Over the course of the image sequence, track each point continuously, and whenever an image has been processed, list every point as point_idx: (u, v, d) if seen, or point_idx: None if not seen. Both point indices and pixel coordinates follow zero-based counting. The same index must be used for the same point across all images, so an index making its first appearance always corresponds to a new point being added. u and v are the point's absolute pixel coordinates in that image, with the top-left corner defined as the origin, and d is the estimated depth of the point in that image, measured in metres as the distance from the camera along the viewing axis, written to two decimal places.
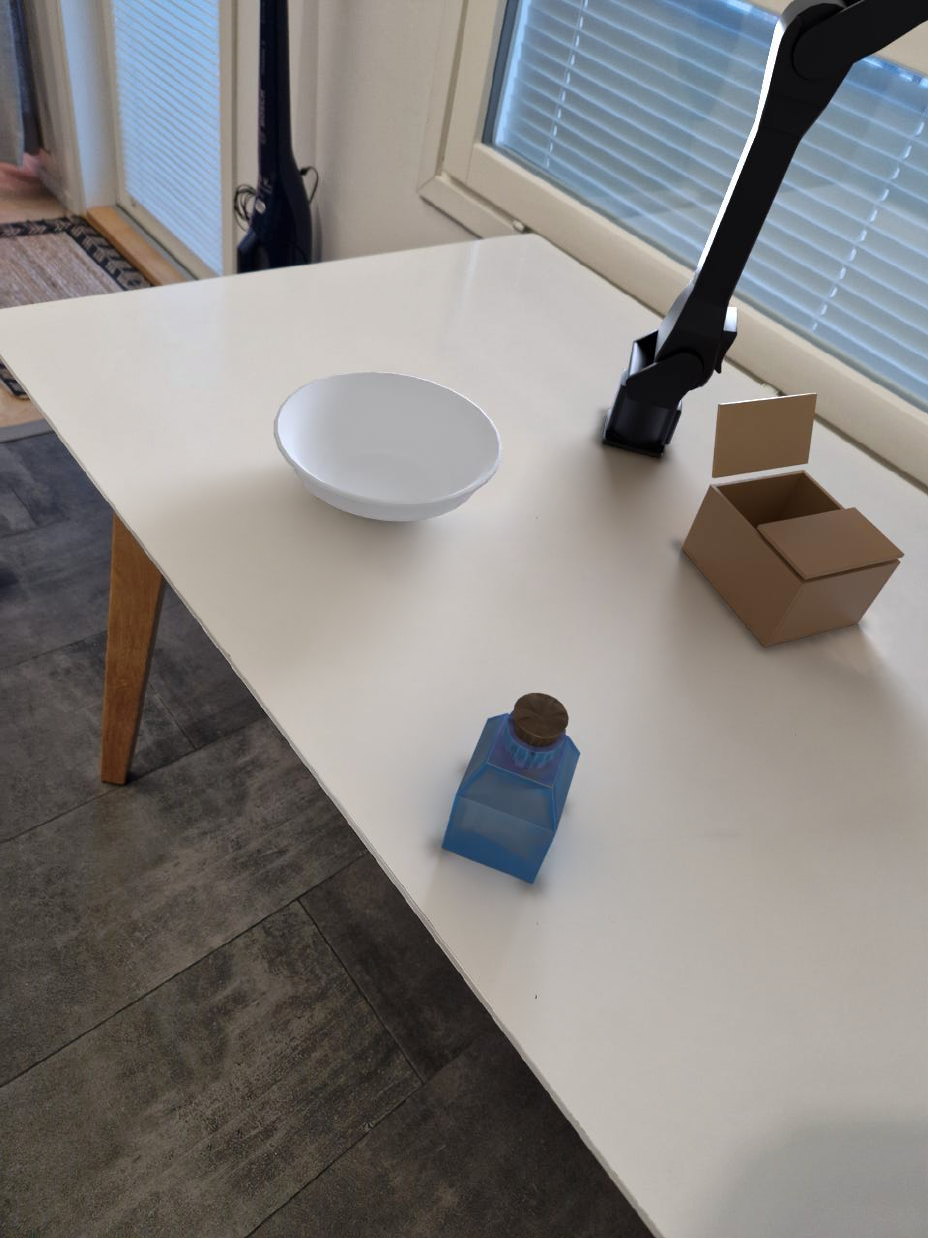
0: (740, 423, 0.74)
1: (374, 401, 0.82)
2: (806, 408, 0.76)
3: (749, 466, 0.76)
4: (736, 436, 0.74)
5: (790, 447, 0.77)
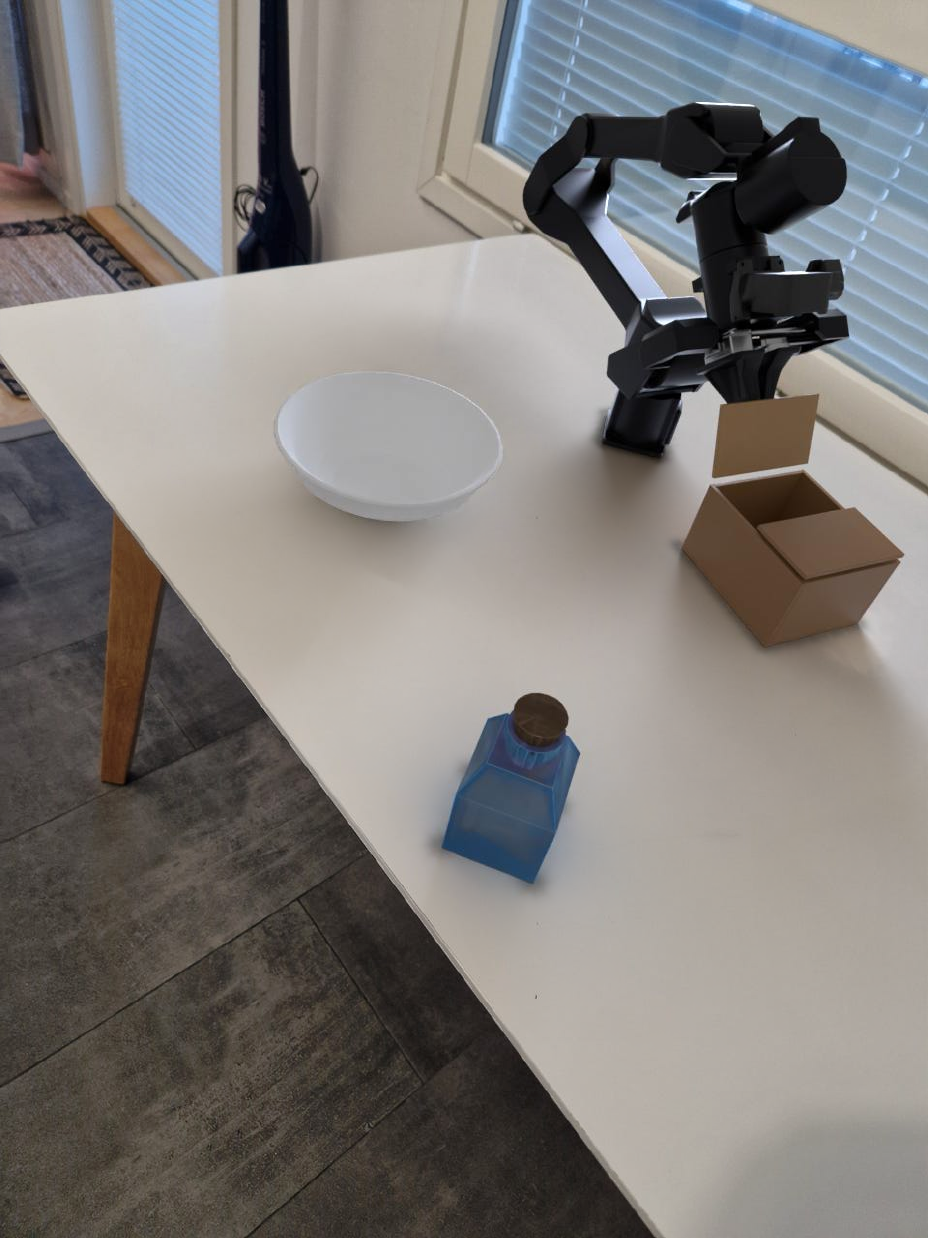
0: (742, 423, 0.74)
1: (374, 401, 0.82)
2: (808, 408, 0.76)
3: (749, 466, 0.76)
4: (737, 436, 0.74)
5: (791, 447, 0.77)
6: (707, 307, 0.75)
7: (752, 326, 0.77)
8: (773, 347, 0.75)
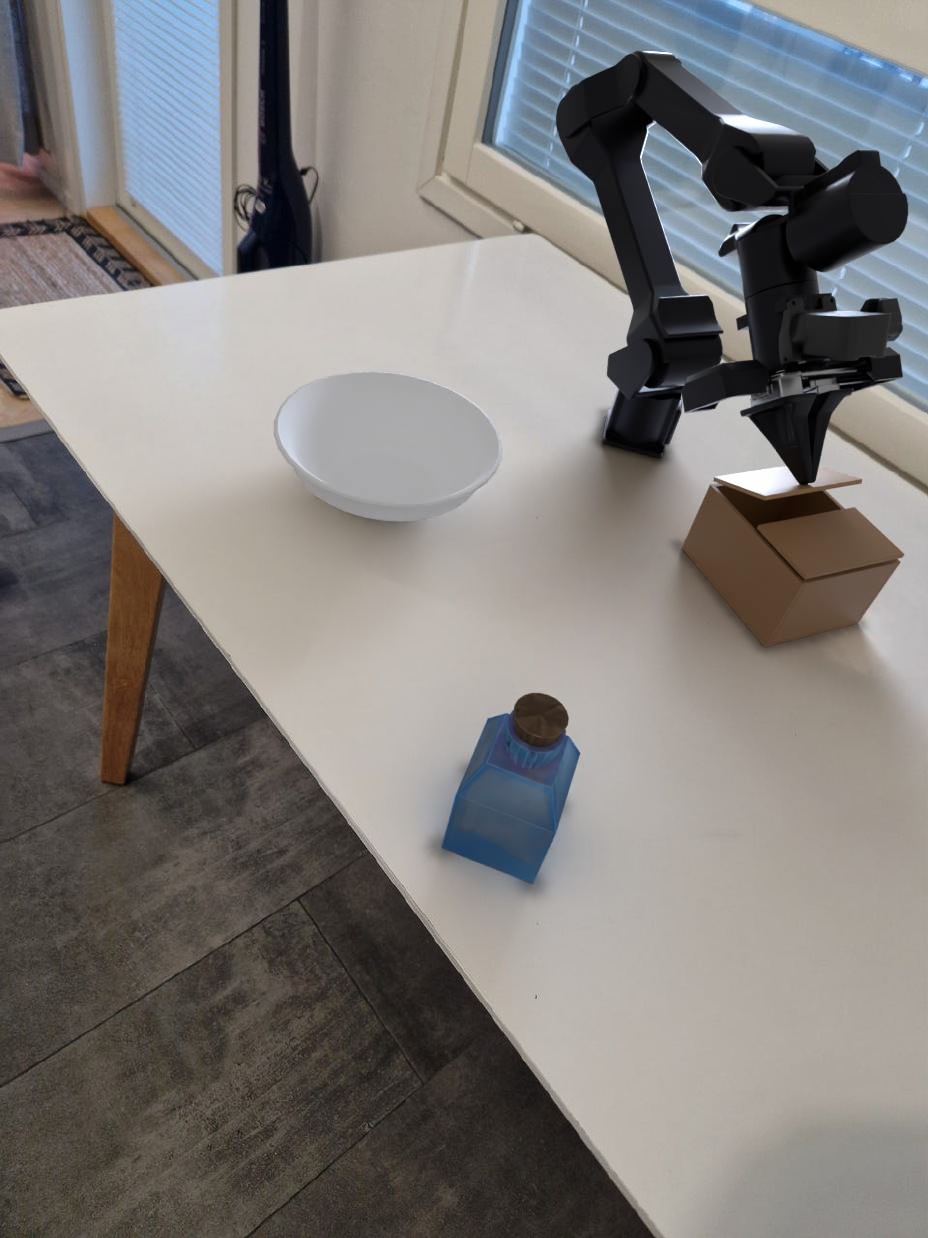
0: None
1: (374, 401, 0.82)
2: None
3: None
4: None
5: None
6: (753, 346, 0.71)
7: (800, 366, 0.73)
8: (823, 389, 0.71)
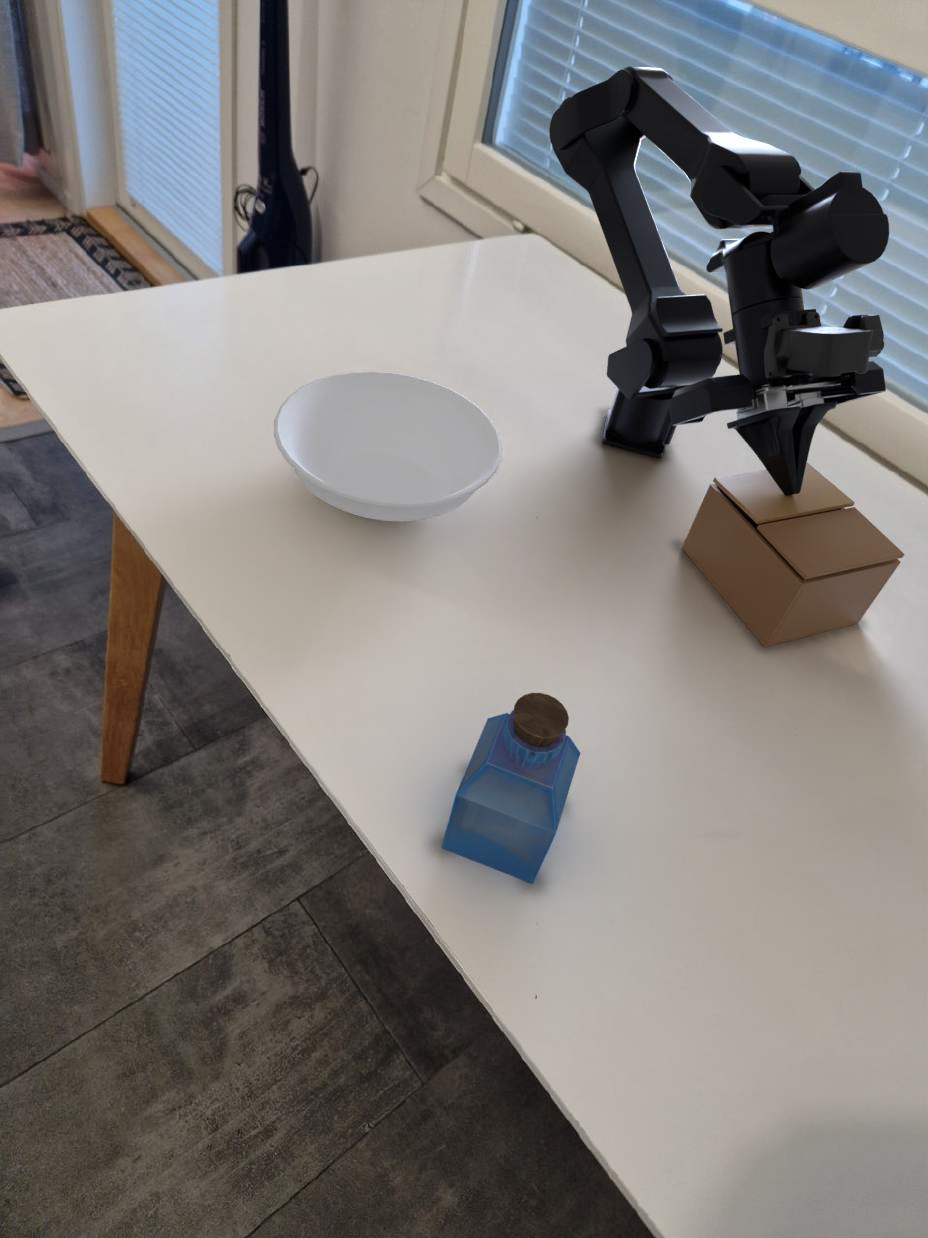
0: None
1: (374, 401, 0.82)
2: None
3: None
4: None
5: None
6: (740, 361, 0.73)
7: (785, 379, 0.74)
8: (808, 402, 0.72)
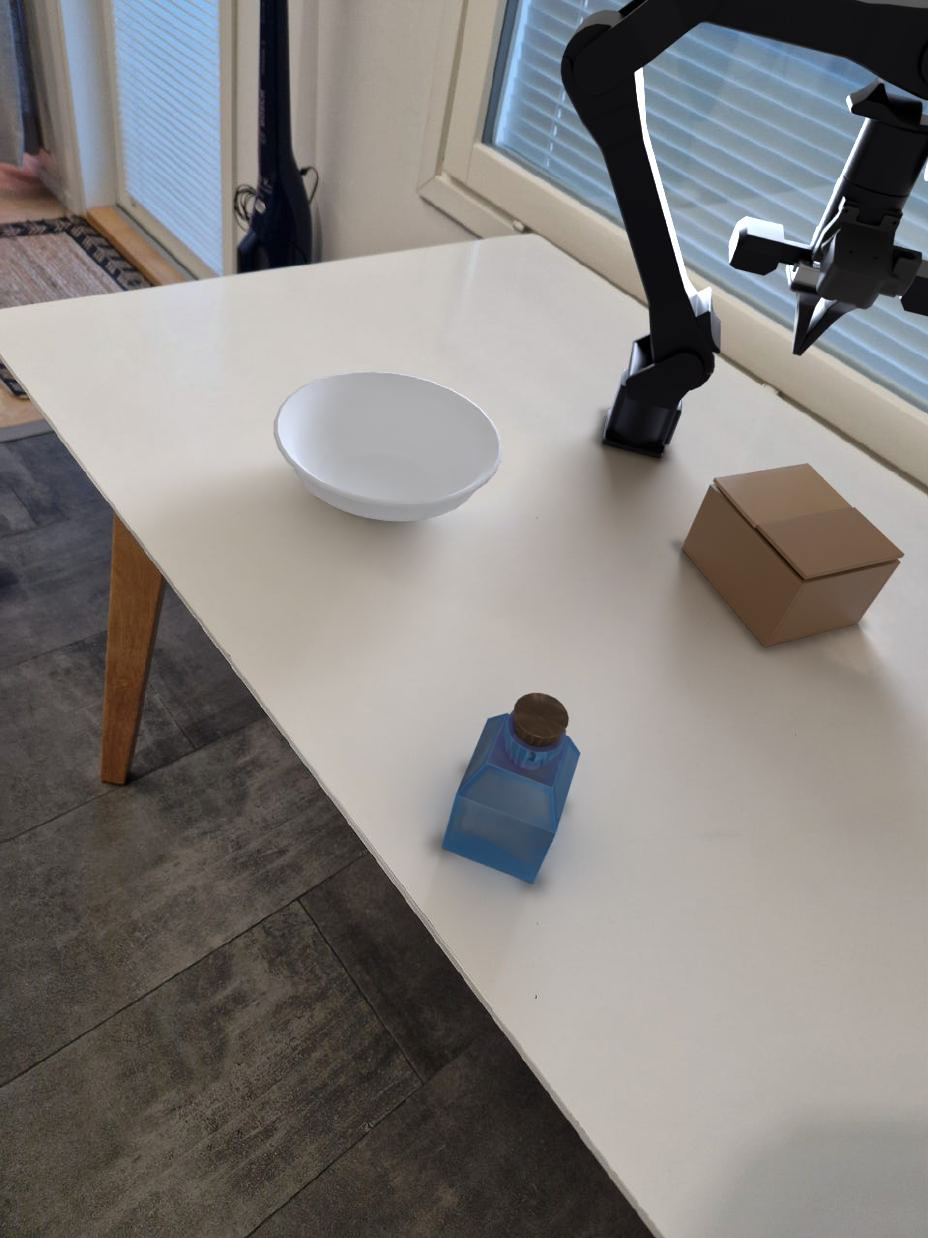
0: None
1: (374, 401, 0.82)
2: None
3: None
4: None
5: None
6: None
7: None
8: None
